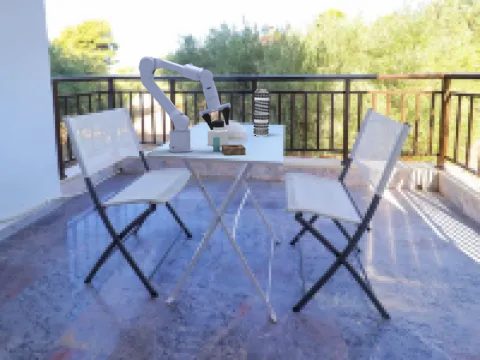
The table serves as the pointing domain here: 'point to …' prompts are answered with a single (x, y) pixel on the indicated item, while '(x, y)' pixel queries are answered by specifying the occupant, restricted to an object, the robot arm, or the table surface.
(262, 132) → the decorative candle
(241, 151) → the socket block
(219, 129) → the medicine bottle
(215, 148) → the peg
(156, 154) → the table surface
